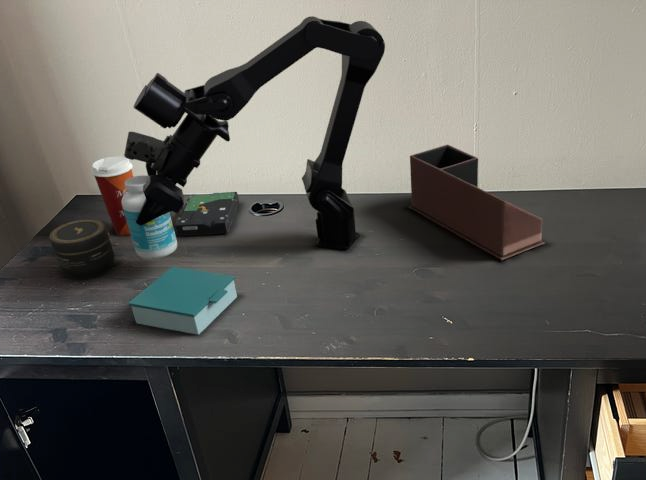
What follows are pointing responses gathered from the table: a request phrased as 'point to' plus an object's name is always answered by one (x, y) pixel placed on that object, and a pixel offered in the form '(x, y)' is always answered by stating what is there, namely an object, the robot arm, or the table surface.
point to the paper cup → (113, 188)
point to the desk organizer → (469, 204)
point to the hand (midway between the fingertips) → (139, 214)
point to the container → (184, 300)
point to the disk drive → (207, 214)
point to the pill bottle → (153, 235)
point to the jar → (82, 248)
